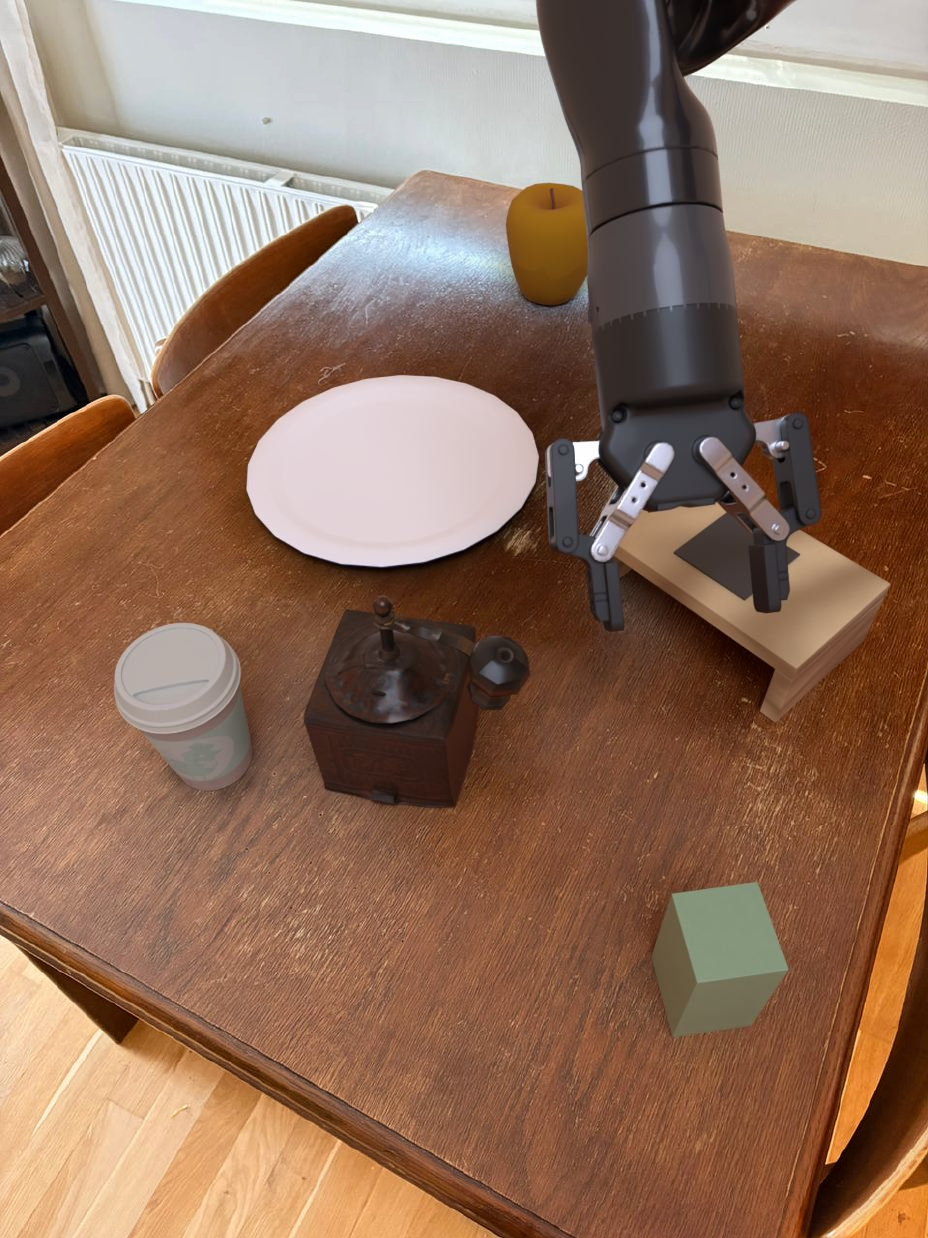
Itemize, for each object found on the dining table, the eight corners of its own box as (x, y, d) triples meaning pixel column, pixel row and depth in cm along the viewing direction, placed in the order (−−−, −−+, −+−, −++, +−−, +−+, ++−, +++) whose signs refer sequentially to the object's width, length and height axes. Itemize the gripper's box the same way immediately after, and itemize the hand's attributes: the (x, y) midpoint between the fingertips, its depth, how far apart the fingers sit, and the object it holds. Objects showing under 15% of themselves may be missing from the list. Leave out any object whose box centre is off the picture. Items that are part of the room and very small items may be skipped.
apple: (607, 280, 113) (616, 175, 103) (576, 324, 106) (582, 217, 97) (526, 265, 116) (527, 162, 106) (492, 307, 110) (489, 201, 100)
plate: (578, 539, 83) (579, 526, 82) (265, 607, 79) (261, 594, 78) (494, 366, 102) (493, 352, 100) (237, 414, 98) (233, 401, 97)
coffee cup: (138, 788, 68) (79, 697, 59) (197, 701, 73) (151, 604, 64) (236, 822, 66) (191, 732, 57) (290, 729, 71) (256, 633, 62)
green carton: (726, 946, 58) (757, 881, 51) (751, 1026, 55) (789, 970, 48) (650, 956, 58) (671, 893, 51) (671, 1038, 55) (697, 983, 47)
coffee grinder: (317, 797, 67) (266, 648, 53) (357, 679, 74) (322, 520, 60) (523, 831, 64) (525, 684, 51) (545, 706, 71) (552, 546, 57)
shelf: (864, 640, 74) (892, 581, 69) (775, 723, 69) (797, 667, 64) (676, 519, 84) (687, 460, 79) (587, 584, 79) (592, 525, 74)
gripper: (539, 312, 43) (575, 644, 45) (826, 282, 44) (852, 610, 45) (520, 347, 51) (551, 631, 52) (766, 321, 51) (790, 601, 53)
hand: (691, 621), depth 49 cm, fingers open, 8 cm apart
